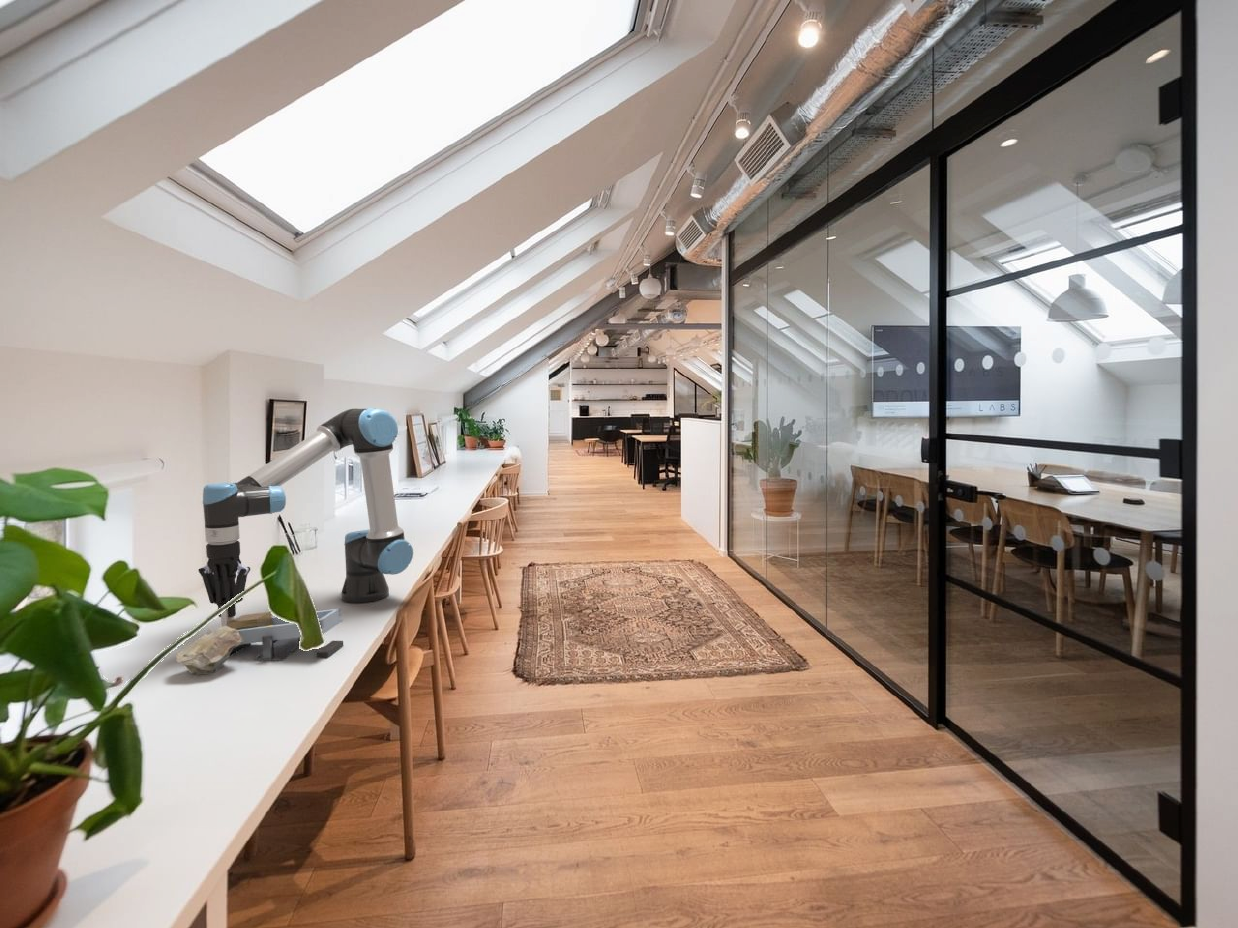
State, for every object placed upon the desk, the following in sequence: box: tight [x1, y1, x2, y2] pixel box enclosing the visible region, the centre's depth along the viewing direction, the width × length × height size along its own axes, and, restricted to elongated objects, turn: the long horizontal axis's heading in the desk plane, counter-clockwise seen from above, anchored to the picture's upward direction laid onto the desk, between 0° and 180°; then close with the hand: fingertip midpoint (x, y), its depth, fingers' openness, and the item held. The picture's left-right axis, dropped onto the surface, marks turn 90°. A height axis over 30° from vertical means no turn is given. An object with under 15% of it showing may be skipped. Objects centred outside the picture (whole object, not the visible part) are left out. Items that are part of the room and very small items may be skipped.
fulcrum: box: [229, 636, 344, 662], centre depth 164 cm, size 14×29×6 cm, turn 87°
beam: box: [237, 608, 343, 644], centre depth 164 cm, size 12×28×4 cm, turn 87°
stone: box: [175, 625, 243, 675], centre depth 151 cm, size 11×14×10 cm
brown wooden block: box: [228, 611, 273, 630], centre depth 165 cm, size 6×8×4 cm
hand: (228, 628), depth 165 cm, fingers closed
